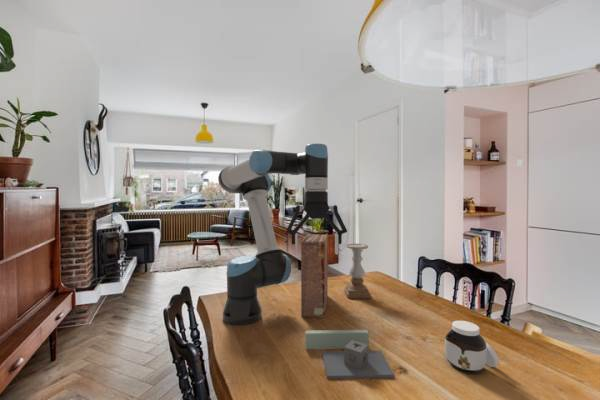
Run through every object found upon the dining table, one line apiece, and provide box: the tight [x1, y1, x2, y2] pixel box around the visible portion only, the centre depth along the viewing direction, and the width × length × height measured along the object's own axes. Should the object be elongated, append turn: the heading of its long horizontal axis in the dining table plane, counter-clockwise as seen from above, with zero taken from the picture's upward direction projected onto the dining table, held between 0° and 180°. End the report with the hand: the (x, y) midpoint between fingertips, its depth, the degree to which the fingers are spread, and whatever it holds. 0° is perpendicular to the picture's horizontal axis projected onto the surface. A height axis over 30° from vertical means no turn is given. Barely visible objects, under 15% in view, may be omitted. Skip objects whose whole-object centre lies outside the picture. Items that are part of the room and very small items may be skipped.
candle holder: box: [344, 243, 372, 300], centre depth 143 cm, size 11×11×24 cm
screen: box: [304, 329, 370, 350], centre depth 95 cm, size 20×2×5 cm, turn 91°
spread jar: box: [444, 320, 500, 374], centre depth 85 cm, size 12×11×12 cm
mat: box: [322, 350, 395, 380], centre depth 85 cm, size 18×12×1 cm, turn 91°
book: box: [300, 232, 329, 319], centre depth 130 cm, size 25×9×30 cm, turn 172°
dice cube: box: [343, 340, 369, 370], centre depth 85 cm, size 5×5×5 cm
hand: (316, 254), depth 100 cm, fingers open, 13 cm apart
